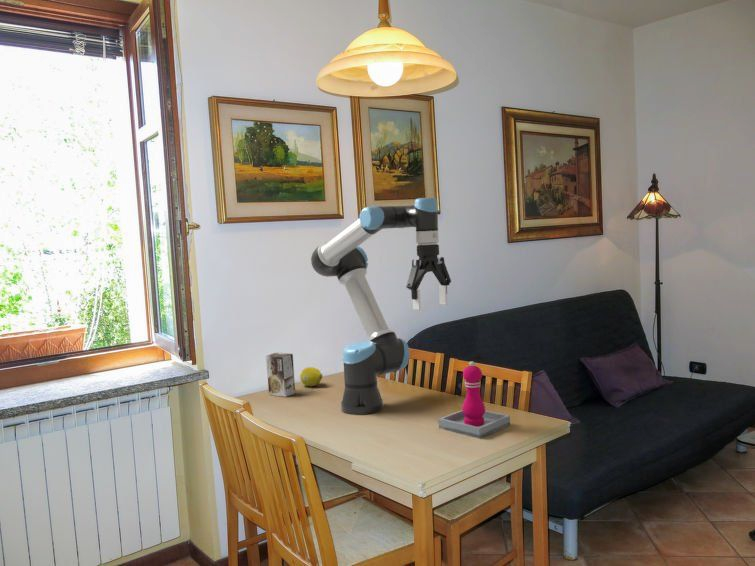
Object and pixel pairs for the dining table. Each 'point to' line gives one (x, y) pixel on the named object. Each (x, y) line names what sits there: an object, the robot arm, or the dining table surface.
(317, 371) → the lemon
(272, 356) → the coffee box
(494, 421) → the tray
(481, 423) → the pepper mill
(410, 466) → the dining table surface
